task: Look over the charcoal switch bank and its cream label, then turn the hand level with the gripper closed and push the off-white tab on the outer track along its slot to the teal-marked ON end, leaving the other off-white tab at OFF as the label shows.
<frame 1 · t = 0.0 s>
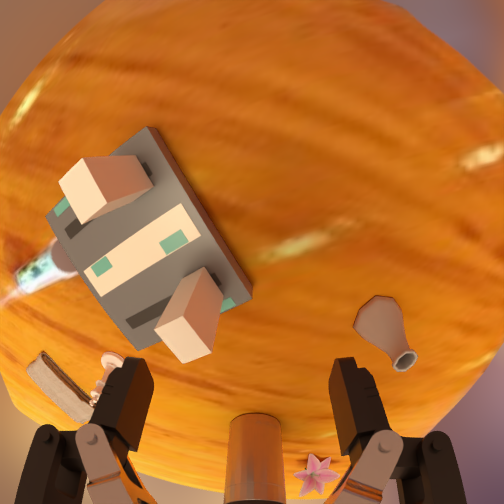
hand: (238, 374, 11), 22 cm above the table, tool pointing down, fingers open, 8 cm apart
tab b: (194, 310, 26), point 8 cm above the table, slide at 0.0 cm
switch bank: (144, 246, 33), on the table
washcloth: (65, 387, 44), on the table
chess piece: (115, 362, 39), on the table
flask: (376, 316, 36), on the table
lily: (313, 460, 49), on the table
tab a: (111, 183, 22), point 8 cm above the table, slide at 0.0 cm
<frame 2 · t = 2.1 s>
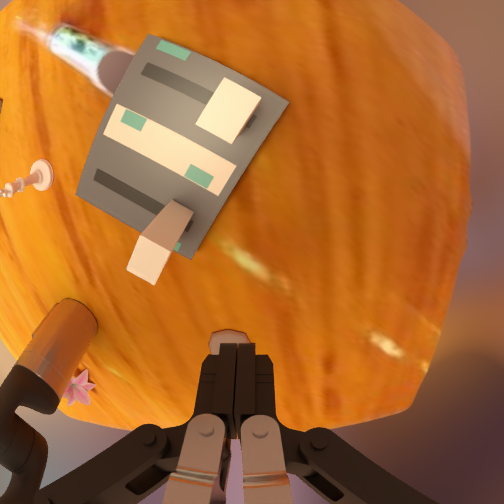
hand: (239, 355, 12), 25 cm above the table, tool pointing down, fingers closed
tab b: (163, 237, 28), point 8 cm above the table, slide at 0.0 cm
switch bank: (172, 144, 31), on the table
chess piece: (43, 174, 32), on the table
flask: (229, 342, 46), on the table
lily: (82, 375, 54), on the table
tab a: (233, 112, 22), point 8 cm above the table, slide at 0.0 cm
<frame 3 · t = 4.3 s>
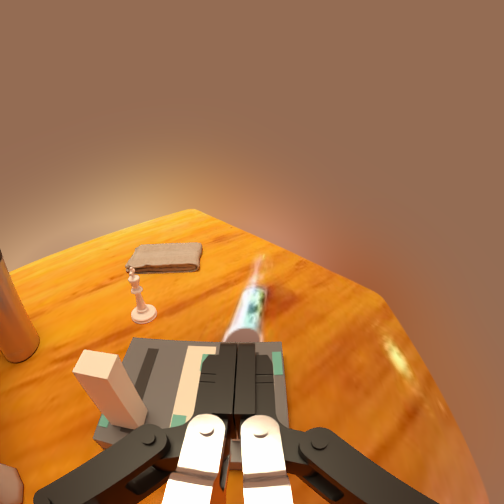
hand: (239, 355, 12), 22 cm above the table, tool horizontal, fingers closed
tab b: (113, 394, 23), point 8 cm above the table, slide at 0.0 cm
switch bank: (197, 405, 31), on the table
washcloth: (165, 263, 66), on the table
chess piece: (144, 315, 48), on the table
flask: (8, 487, 13), on the table
tab a: (250, 407, 23), point 8 cm above the table, slide at 0.0 cm
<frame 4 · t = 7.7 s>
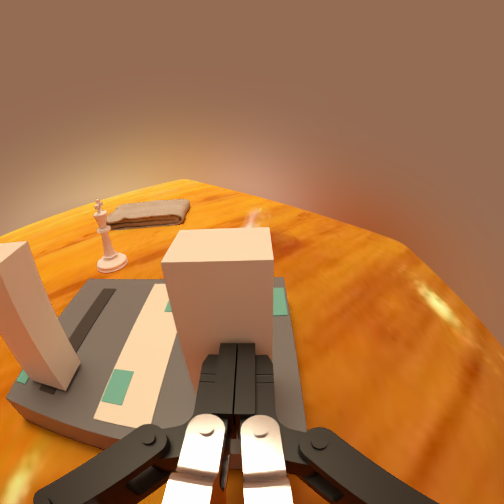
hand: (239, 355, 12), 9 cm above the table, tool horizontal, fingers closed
tab b: (24, 320, 13), point 8 cm above the table, slide at 0.0 cm
switch bank: (159, 364, 21), on the table
washcloth: (147, 220, 56), on the table
chess piece: (112, 265, 38), on the table
tab a: (229, 336, 13), point 8 cm above the table, slide at 0.1 cm, touching gripper
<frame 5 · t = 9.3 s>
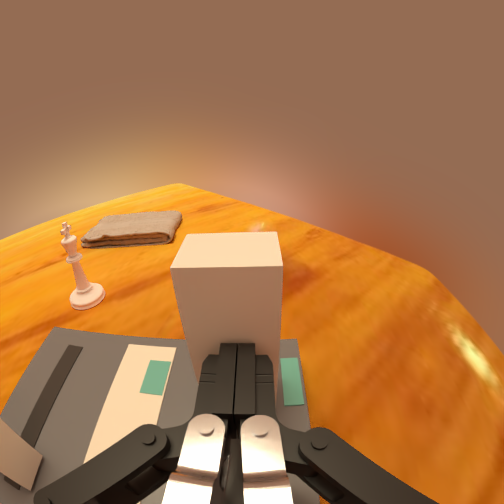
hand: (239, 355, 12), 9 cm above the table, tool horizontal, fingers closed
switch bank: (139, 453, 14), on the table
washcloth: (133, 236, 48), on the table
chess piece: (88, 299, 30), on the table
tab a: (236, 339, 13), point 8 cm above the table, slide at 8.8 cm, touching gripper
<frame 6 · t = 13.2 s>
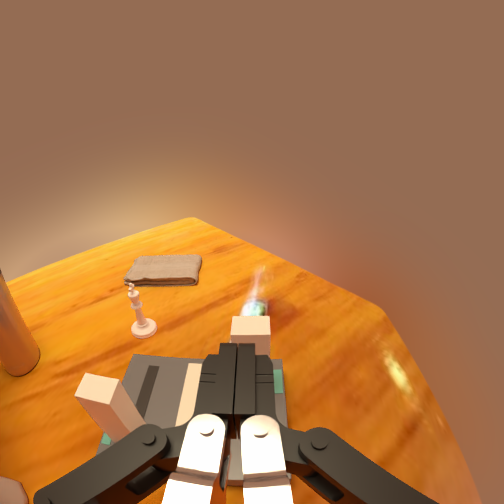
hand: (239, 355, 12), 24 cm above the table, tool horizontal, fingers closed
tab b: (115, 415, 23), point 8 cm above the table, slide at 0.0 cm
switch bank: (198, 422, 31), on the table
washcloth: (164, 275, 65), on the table
chess piece: (144, 330, 47), on the table
flask: (13, 500, 12), on the table
tab a: (251, 356, 31), point 8 cm above the table, slide at 9.9 cm
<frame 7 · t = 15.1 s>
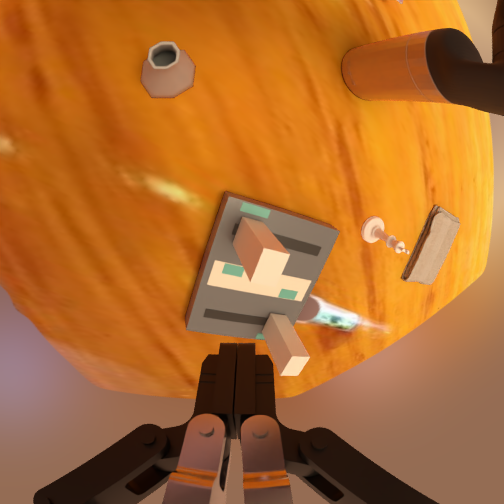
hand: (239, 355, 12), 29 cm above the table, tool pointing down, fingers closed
tab b: (257, 248, 33), point 8 cm above the table, slide at 0.0 cm
switch bank: (256, 272, 45), on the table
washcloth: (429, 245, 54), on the table
chess piece: (371, 228, 47), on the table
flask: (168, 73, 29), on the table
tab a: (283, 343, 41), point 8 cm above the table, slide at 9.9 cm
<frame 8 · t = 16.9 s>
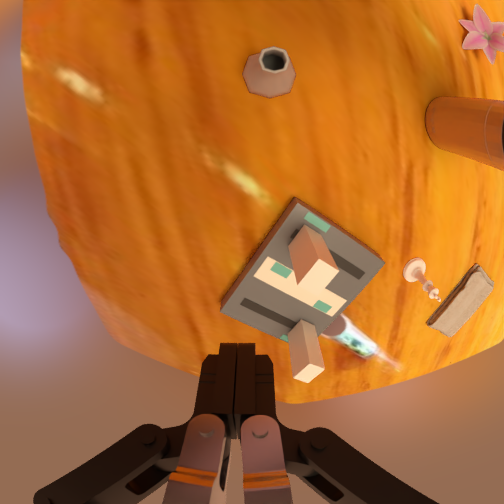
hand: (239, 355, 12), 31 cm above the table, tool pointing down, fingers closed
tab b: (310, 257, 35), point 8 cm above the table, slide at 0.0 cm
switch bank: (300, 278, 47), on the table
washcloth: (460, 299, 50), on the table
chess piece: (413, 268, 46), on the table
flask: (269, 74, 32), on the table
lily: (471, 37, 25), on the table
tab a: (304, 350, 43), point 8 cm above the table, slide at 9.9 cm
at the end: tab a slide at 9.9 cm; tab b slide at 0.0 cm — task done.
